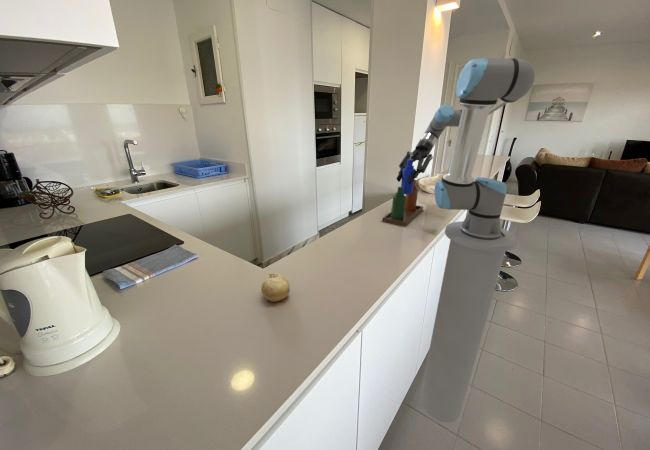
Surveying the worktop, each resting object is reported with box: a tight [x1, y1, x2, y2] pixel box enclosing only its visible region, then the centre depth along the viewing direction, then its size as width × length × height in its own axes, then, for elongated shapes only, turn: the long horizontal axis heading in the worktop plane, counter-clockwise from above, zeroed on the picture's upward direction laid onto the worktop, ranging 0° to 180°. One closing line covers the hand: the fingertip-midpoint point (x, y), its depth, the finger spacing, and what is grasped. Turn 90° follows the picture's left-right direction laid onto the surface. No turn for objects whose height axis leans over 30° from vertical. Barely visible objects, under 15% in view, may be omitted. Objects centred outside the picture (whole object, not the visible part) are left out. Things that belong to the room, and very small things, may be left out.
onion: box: [260, 272, 291, 303], centre depth 77 cm, size 8×8×7 cm
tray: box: [381, 204, 424, 227], centre depth 144 cm, size 12×30×2 cm, turn 146°
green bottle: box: [391, 186, 406, 221], centre depth 133 cm, size 6×6×16 cm
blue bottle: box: [400, 159, 417, 195], centre depth 137 cm, size 6×6×16 cm
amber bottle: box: [405, 178, 419, 211], centre depth 149 cm, size 6×6×16 cm
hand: (403, 181), depth 135 cm, fingers closed on blue bottle, 6 cm apart
